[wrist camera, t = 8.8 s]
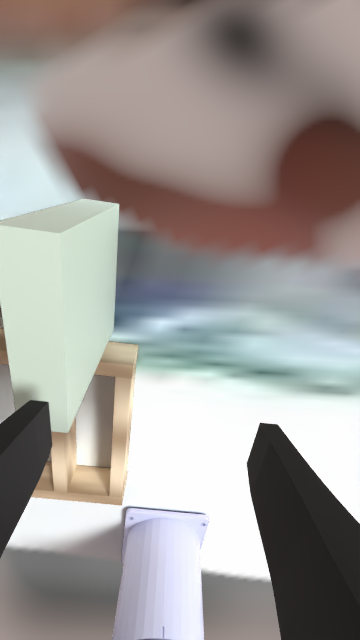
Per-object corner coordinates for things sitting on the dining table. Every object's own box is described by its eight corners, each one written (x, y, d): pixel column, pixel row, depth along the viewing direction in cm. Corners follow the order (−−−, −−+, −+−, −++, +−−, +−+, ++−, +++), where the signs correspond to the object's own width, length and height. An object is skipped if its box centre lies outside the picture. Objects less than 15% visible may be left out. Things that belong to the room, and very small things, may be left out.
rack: (126, 477, 27) (121, 505, 25) (-55, 460, 26) (-78, 487, 24) (138, 344, 21) (133, 365, 18) (-99, 316, 20) (-135, 334, 18)
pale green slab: (113, 329, 20) (68, 433, 12) (83, 325, 20) (18, 427, 12) (119, 203, 17) (60, 233, 9) (83, 198, 17) (-11, 223, 9)
